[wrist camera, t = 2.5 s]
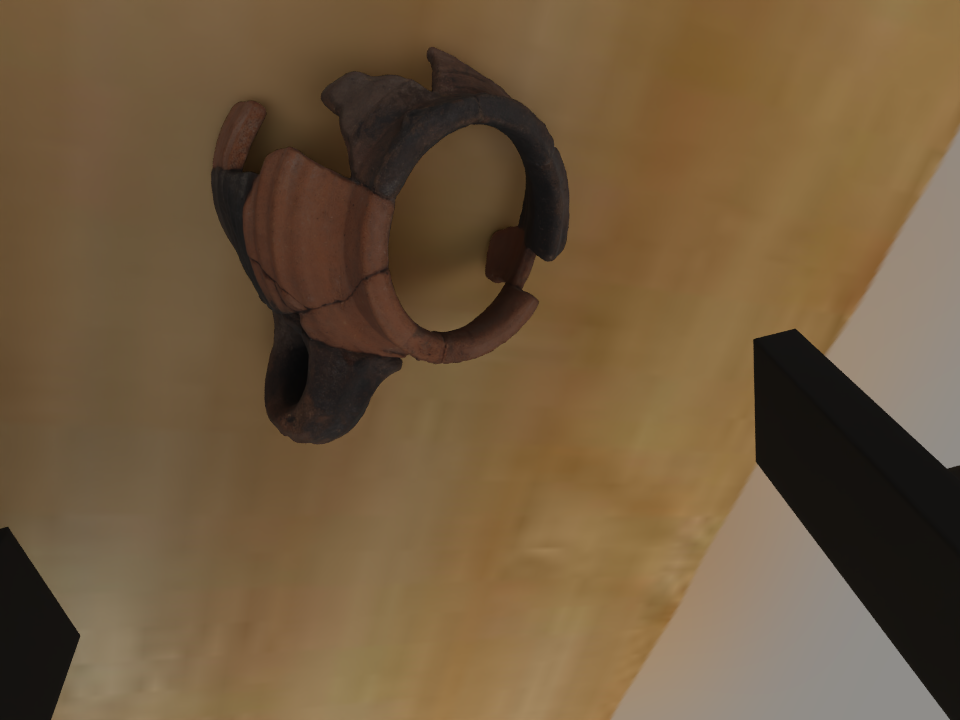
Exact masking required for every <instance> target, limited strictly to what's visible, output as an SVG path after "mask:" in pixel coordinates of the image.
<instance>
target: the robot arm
mask: <svg viewBox="0 0 960 720" xmlns="http://www.w3.org/2000/svg"><path fill="white" fill-rule="evenodd" d="M753 344H754V393H755V441H756V462H757V464H758V465H759V466H760V468H761V469H762V470H763V472H764V473H765V474H766V476H767V477H768V478H769V480H770V481H771V482H772V484H773V485H774V486H775V488H776V489H777V490H778V492H779V493H780V494H781V495H782V497H783V498H784V500H785V501H786V502H787V504H788V505H789V506H790V508H791V509H792V510H793V511H794V513H795V514H796V516H797V517H798V518H799V520H800V521H801V522H802V523H803V525H804V526H805V528H806V529H807V530H808V532H809V533H810V534H811V536H812V537H813V538H814V539H815V541H816V542H817V544H818V545H819V546H820V547H821V549H822V550H823V551H824V553H825V554H826V555H827V557H828V558H829V559H830V561H831V562H832V563H833V565H834V566H835V567H836V569H837V570H838V571H839V573H840V574H841V575H842V577H843V578H844V579H845V581H846V582H847V583H848V584H849V586H850V587H851V589H852V590H853V591H854V593H855V594H856V595H857V597H858V598H859V599H860V601H861V602H862V603H863V604H864V606H865V607H866V609H867V610H868V611H869V612H870V614H871V615H872V617H873V618H874V619H875V620H876V622H877V623H878V624H879V626H880V627H881V628H882V630H883V631H884V632H885V633H886V635H887V636H888V638H889V639H890V640H891V642H892V643H893V644H894V646H895V647H896V648H897V649H898V651H899V652H900V654H901V655H902V656H903V658H904V659H905V660H906V662H907V663H908V664H909V666H910V667H911V668H912V670H913V671H914V672H915V674H916V675H917V676H918V678H919V679H920V680H921V682H922V683H923V684H924V686H925V687H926V688H927V690H928V691H929V692H930V694H931V695H932V696H933V697H934V699H935V700H936V702H937V703H938V704H939V706H940V707H941V708H942V709H943V711H944V712H945V713H946V714H947V716H948V718H949V719H950V720H960V466H956V467H952V468H949V469H947V468H945V467H944V466H943V465H942V464H941V463H940V462H939V461H938V460H937V459H936V458H935V457H934V456H932V455H931V454H930V453H929V452H928V451H927V450H926V449H925V448H924V447H923V446H922V445H921V444H920V443H918V442H917V441H916V440H915V439H914V438H913V437H912V436H911V435H910V434H909V433H908V432H907V431H905V430H904V429H903V428H902V427H901V426H900V425H899V424H898V423H897V422H896V421H895V420H894V419H892V418H891V417H890V416H889V415H888V414H887V413H886V412H885V411H884V410H883V409H882V408H881V407H879V406H878V405H877V404H876V403H875V402H874V401H873V400H872V399H871V398H870V397H869V396H868V395H866V394H865V393H864V392H863V391H862V390H861V389H860V388H859V387H858V386H857V385H856V384H854V383H853V382H852V381H851V380H850V379H849V378H848V377H847V376H846V375H845V374H844V373H842V371H840V370H839V369H838V368H837V367H836V366H835V365H834V364H833V363H832V362H831V361H830V360H829V359H828V358H827V357H825V356H824V355H823V354H822V353H821V352H820V351H819V350H818V349H817V348H816V347H815V346H814V345H812V344H811V343H810V342H809V341H808V340H807V339H806V338H805V337H804V336H803V335H802V334H801V333H799V332H798V331H797V330H796V329H792V330H788V331H784V332H780V333H776V334H772V335H768V336H764V337H760V338H756V339H753ZM79 638H80V634H79V633H78V631H77V630H76V628H75V627H74V625H73V624H72V622H71V621H70V619H69V618H68V616H67V615H66V613H65V612H64V610H63V609H62V607H61V606H60V604H59V603H58V601H57V600H56V598H55V597H54V595H53V594H52V592H51V591H50V589H49V588H48V586H47V585H46V583H45V582H44V580H43V579H42V577H41V576H40V574H39V573H38V571H37V570H36V568H35V567H34V565H33V564H32V562H31V561H30V559H29V558H28V556H27V555H26V553H25V552H24V550H23V549H22V547H21V546H20V544H19V543H18V541H17V540H16V538H15V537H14V535H13V534H12V532H11V531H10V529H9V528H8V527H5V528H1V529H0V720H51V718H52V715H53V713H54V710H55V707H56V704H57V701H58V698H59V695H60V693H61V690H62V687H63V684H64V681H65V678H66V675H67V672H68V670H69V667H70V664H71V661H72V658H73V655H74V652H75V650H76V647H77V644H78V641H79Z"/></svg>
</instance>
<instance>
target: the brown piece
mask: <svg viewBox="0 0 960 720" xmlns="http://www.w3.org/2000/svg"><path fill="white" fill-rule="evenodd" d="M427 58H428V61H429V62H430V64H431V67H432V70H433V72H432V92H431V91H429V90H427V89H426V88H424V87H423V86H421V85H420V84H418V83H417V82H415V81H414V80H412V79H406V78H403V77H401V76H398V75H383V76H374V77H373V76H369V75H367V74H364V73H361V72H356V71H353V72H349V73H346V74H345V75H343V76H342V77H340V78H339V79H337V80H336V81H334V82H333V83H331V84H329V85H328V86H327V87H326V88H325V89H324V90H323V92H322V93H321V100H322V102H323V103H324V105H325V106H326V107H328V108H329V109H330V110H331V111H332V112H333V113H334V114H336V115H338V116H339V124H340V129H341V133H342V136H343V138H344V141H345V144H346V147H347V151H348V157H349V165H350V169H351V178H347V177H344V176H342V175H340V174H338V173H336V172H335V171H333V170H331V169H328V168H325V167H324V166H322V165H320V164H318V163H316V162H315V161H313V160H311V159H310V158H308V157H306V156H305V155H304V154H303V153H302V152H300V151H299V150H297V149H295V148H293V147H287V148H285V149H278V150H275V151H274V152H272V153H270V154H269V155H267V156H266V158H265V160H264V163H263V165H262V168H261V171H260V174H259V175H258V174H256V173H254V172H242V170H243V166H244V163H245V161H246V158H247V154H248V152H249V149H250V147H251V145H252V142H253V140H254V138H255V136H256V134H257V132H258V130H259V128H260V126H261V124H262V122H263V120H264V119H265V117H266V109H265V108H264V107H263V106H262V105H261V104H259V103H257V102H255V101H247V102H238V103H236V104H235V105H234V106H233V107H232V109H231V111H230V113H229V114H228V116H227V118H226V120H225V122H224V123H223V126H222V128H221V131H220V134H219V137H218V140H217V143H216V147H215V152H214V158H213V169H212V172H211V184H212V193H213V200H214V205H215V209H216V212H217V215H218V218H219V221H220V223H221V226H222V228H223V229H224V232H225V233H226V235H227V237H228V239H229V240H230V242H231V243H232V245H233V246H234V248H235V250H236V252H237V254H238V256H239V259H240V261H241V263H242V266H243V268H244V270H245V272H246V274H247V275H248V277H249V278H250V280H251V281H252V283H253V285H254V287H255V289H256V291H257V292H258V294H259V297H260V299H261V301H262V302H263V303H265V304H266V305H267V306H268V307H269V308H270V309H271V310H272V312H273V317H274V325H275V329H274V344H273V348H272V350H271V353H270V358H269V363H268V367H267V373H266V378H265V407H266V411H267V415H268V417H269V419H270V421H271V422H272V423H273V424H274V425H275V426H276V427H277V428H278V430H279V431H280V432H281V434H283V435H284V436H288V437H290V438H291V439H292V440H293V441H295V442H297V443H313V444H325V443H329V442H331V441H333V440H335V439H337V438H339V437H341V436H343V435H344V434H346V433H348V432H349V431H350V430H351V429H352V428H353V427H354V426H355V425H356V424H357V422H358V421H359V420H360V418H361V417H362V416H363V414H364V412H365V410H366V408H367V406H368V404H369V401H370V398H371V397H372V395H373V393H374V392H375V390H376V389H377V387H378V386H379V385H380V383H381V382H382V381H383V380H384V379H385V378H387V377H388V376H389V375H391V374H393V373H394V372H396V371H399V370H400V369H401V367H402V360H401V359H400V358H404V357H406V356H407V355H409V354H410V355H411V356H413V357H414V358H416V360H418V361H420V360H423V361H427V362H429V363H434V364H440V363H444V364H449V363H460V362H462V361H467V360H471V359H474V358H477V357H480V356H483V355H484V354H487V353H489V352H491V351H493V350H494V349H496V347H498V346H499V345H501V344H503V343H505V342H506V341H507V340H508V339H509V338H510V337H512V336H513V335H514V334H515V333H517V332H518V331H519V330H520V328H521V327H522V326H523V325H524V324H525V323H526V322H527V321H528V319H529V318H530V317H531V316H532V314H533V313H534V311H535V310H536V308H537V306H538V304H539V301H538V300H537V299H536V298H535V297H534V296H533V295H531V294H529V293H528V292H525V291H523V290H522V288H523V286H524V284H525V282H526V280H527V278H528V276H529V274H530V272H531V269H532V266H533V263H534V260H535V257H536V255H537V256H539V257H540V258H542V259H543V260H544V261H553V260H554V259H555V258H556V257H557V256H558V255H559V254H560V253H561V252H562V250H563V249H564V247H565V244H566V240H567V231H568V228H569V227H568V225H569V189H568V179H567V176H566V170H565V167H564V164H563V161H562V159H561V156H560V153H559V151H558V149H557V148H556V147H554V141H553V138H552V136H551V135H550V133H549V132H548V130H547V128H546V125H545V124H544V123H543V122H542V121H540V120H539V119H538V118H537V117H536V115H535V114H534V113H532V112H531V111H530V110H529V109H528V108H527V107H526V106H524V105H523V104H522V103H520V102H518V101H516V100H514V99H512V98H511V97H510V96H509V95H508V94H507V93H506V92H505V91H504V90H503V89H502V88H501V87H500V86H499V85H497V84H495V83H494V82H493V81H492V80H490V79H488V78H486V77H485V76H483V75H481V74H480V73H478V72H477V71H475V70H474V69H473V68H471V67H470V66H468V65H467V64H464V63H463V62H461V61H460V60H458V59H457V58H456V57H454V56H452V55H450V54H448V53H446V52H444V51H441V50H439V49H437V48H435V47H430V48H429V49H428V50H427ZM470 124H473V125H475V124H484V125H489V126H492V127H495V128H497V129H498V130H500V131H501V132H503V133H504V134H505V135H507V136H508V137H509V138H510V140H511V141H512V142H513V144H514V145H515V147H516V148H517V150H518V152H519V154H520V156H521V159H522V161H523V165H524V167H525V173H526V190H525V197H524V201H523V207H522V212H521V215H520V219H519V224H518V226H515V227H508V228H506V229H503V230H499V231H497V232H495V233H494V234H493V236H492V238H491V240H490V244H489V249H488V252H487V260H486V267H485V274H486V277H487V278H488V279H490V280H491V281H492V282H495V283H501V282H505V285H504V286H503V288H502V290H501V291H500V293H499V294H498V296H497V297H496V298H495V300H494V301H493V302H492V303H491V304H490V305H489V306H488V307H487V308H486V310H485V311H484V312H482V313H481V314H480V315H479V316H478V317H476V318H475V319H474V320H473V321H472V322H470V323H469V324H467V325H466V326H464V327H461V328H459V329H456V330H452V331H448V332H437V331H432V332H430V331H428V330H426V329H424V328H422V327H420V326H419V325H418V324H416V323H415V322H414V321H413V320H412V319H411V318H410V317H409V316H408V315H407V313H406V312H405V311H404V309H403V307H402V306H401V304H400V302H399V300H398V298H397V296H396V293H395V290H394V287H393V284H392V280H391V275H390V271H389V268H388V263H389V259H388V243H389V234H390V228H391V222H392V217H393V213H394V209H395V199H396V196H397V195H398V193H399V192H400V190H401V188H402V187H403V185H404V183H405V181H406V179H407V177H408V176H409V174H410V173H411V171H412V169H413V168H414V166H415V165H416V163H417V162H418V161H419V160H420V158H421V157H422V156H423V155H424V154H425V153H426V152H427V151H428V150H429V149H430V148H431V147H432V146H434V145H435V144H436V143H437V142H439V141H440V140H441V139H442V138H444V137H445V136H447V135H448V134H450V133H452V132H454V131H456V130H458V129H461V128H463V127H466V126H468V125H470Z"/></svg>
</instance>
